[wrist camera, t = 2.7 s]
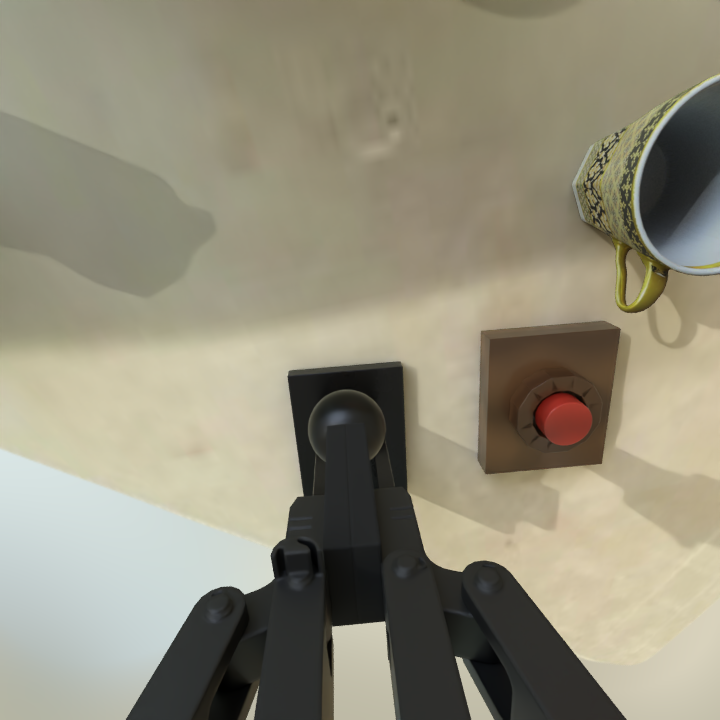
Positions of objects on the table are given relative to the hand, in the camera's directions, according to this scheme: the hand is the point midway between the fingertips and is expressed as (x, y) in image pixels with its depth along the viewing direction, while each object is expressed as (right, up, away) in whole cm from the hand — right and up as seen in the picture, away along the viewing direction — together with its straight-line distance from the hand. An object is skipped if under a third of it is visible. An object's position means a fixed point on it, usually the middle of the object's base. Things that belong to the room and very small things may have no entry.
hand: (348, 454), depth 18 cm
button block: (+15, +1, +20) cm, 25 cm away
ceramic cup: (+18, +15, +15) cm, 28 cm away
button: (+16, 0, +17) cm, 23 cm away
